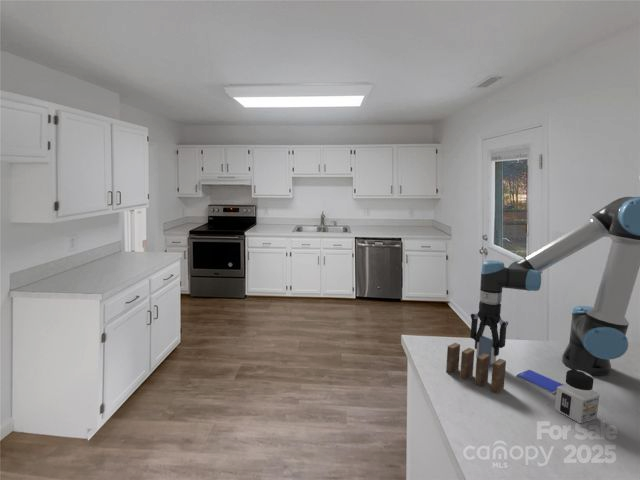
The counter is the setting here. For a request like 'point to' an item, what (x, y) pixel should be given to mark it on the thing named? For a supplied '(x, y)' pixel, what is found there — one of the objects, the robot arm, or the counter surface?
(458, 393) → the counter surface
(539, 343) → the counter surface
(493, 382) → the domino
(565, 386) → the container
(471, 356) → the domino
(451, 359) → the domino
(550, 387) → the hard drive
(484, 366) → the domino
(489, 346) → the end domino
